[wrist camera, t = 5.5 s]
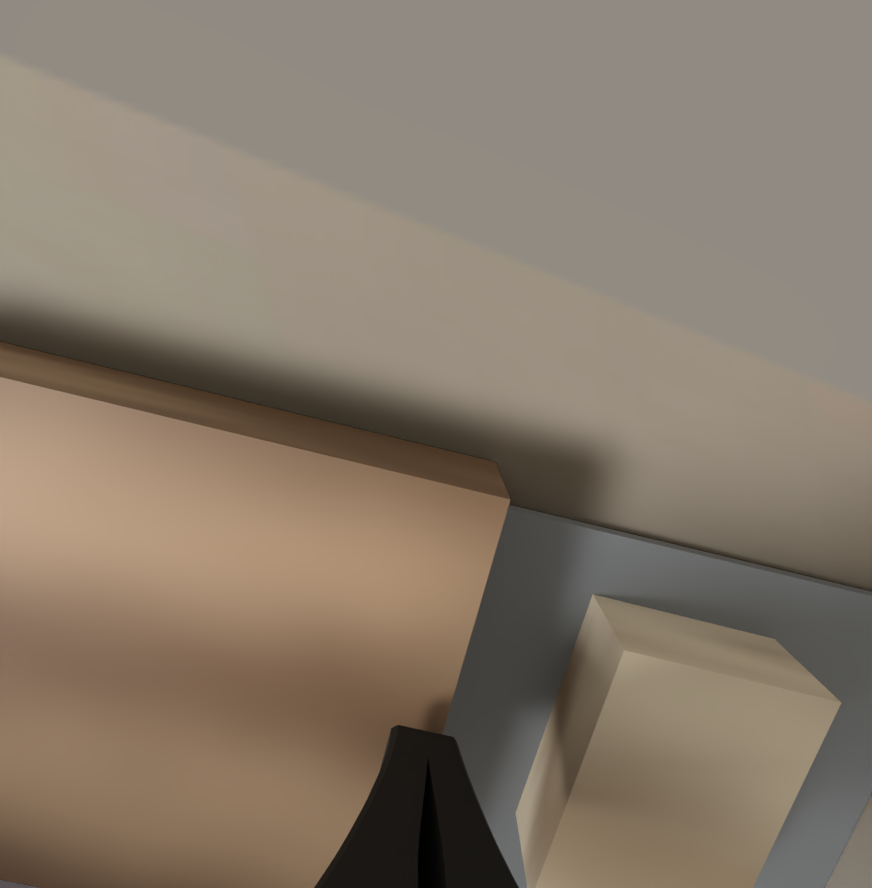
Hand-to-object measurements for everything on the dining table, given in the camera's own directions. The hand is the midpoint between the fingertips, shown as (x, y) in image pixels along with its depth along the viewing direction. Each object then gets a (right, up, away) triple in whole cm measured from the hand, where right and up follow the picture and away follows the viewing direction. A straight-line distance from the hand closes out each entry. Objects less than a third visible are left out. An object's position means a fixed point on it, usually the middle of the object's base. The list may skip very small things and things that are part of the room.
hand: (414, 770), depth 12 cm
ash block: (+6, -2, +1) cm, 6 cm away
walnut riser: (-7, +2, +3) cm, 8 cm away
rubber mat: (+6, -2, +4) cm, 8 cm away
